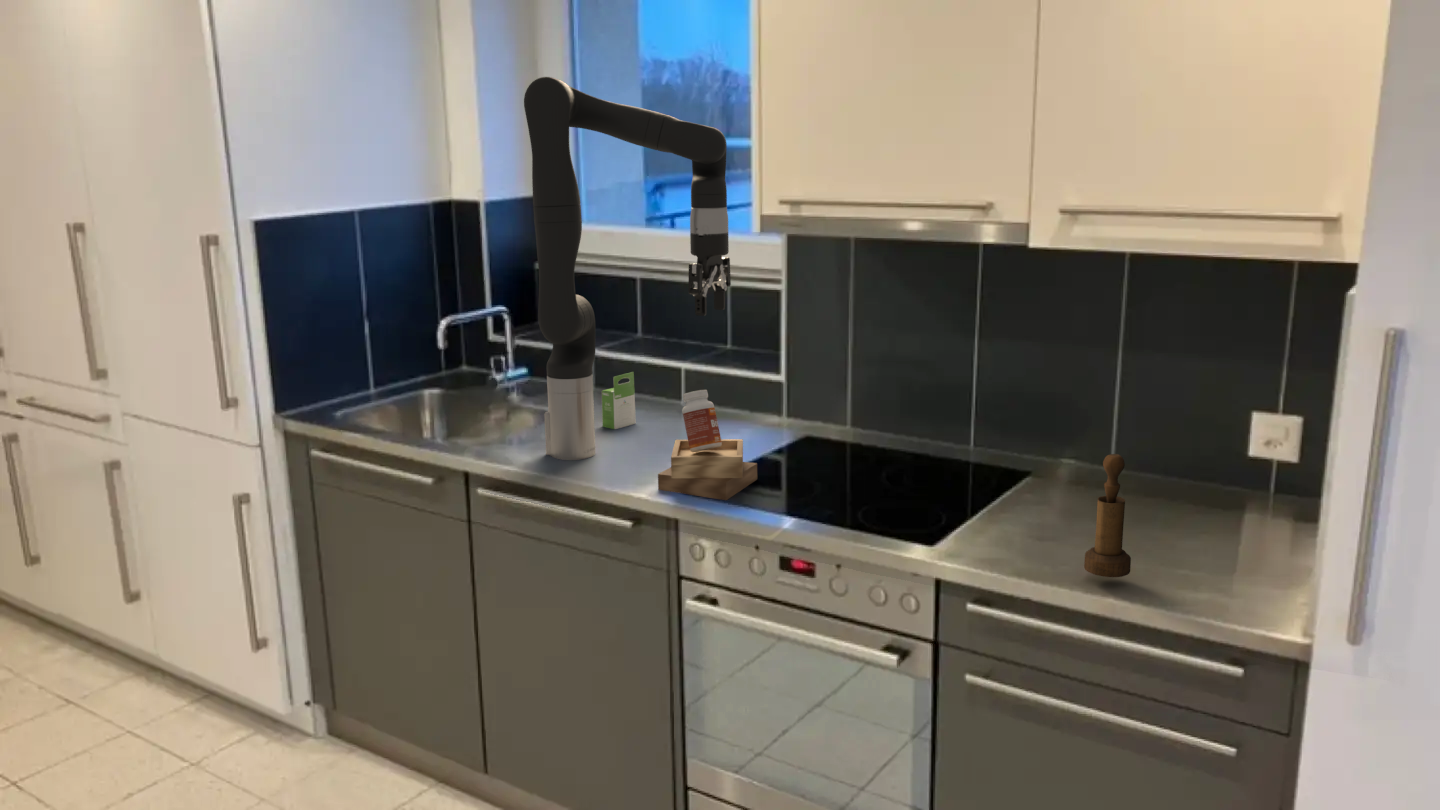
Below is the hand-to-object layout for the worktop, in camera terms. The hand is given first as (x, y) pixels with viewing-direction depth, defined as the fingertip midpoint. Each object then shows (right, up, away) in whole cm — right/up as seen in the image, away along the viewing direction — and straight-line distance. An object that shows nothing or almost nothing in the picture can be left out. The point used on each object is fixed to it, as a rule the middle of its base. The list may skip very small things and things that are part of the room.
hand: (710, 312), depth 238 cm
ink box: (-21, -25, +29) cm, 44 cm away
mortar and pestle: (+60, -44, -58) cm, 94 cm away
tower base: (0, -34, -12) cm, 37 cm away
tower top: (0, -30, -13) cm, 33 cm away
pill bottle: (-1, -27, -13) cm, 30 cm away
